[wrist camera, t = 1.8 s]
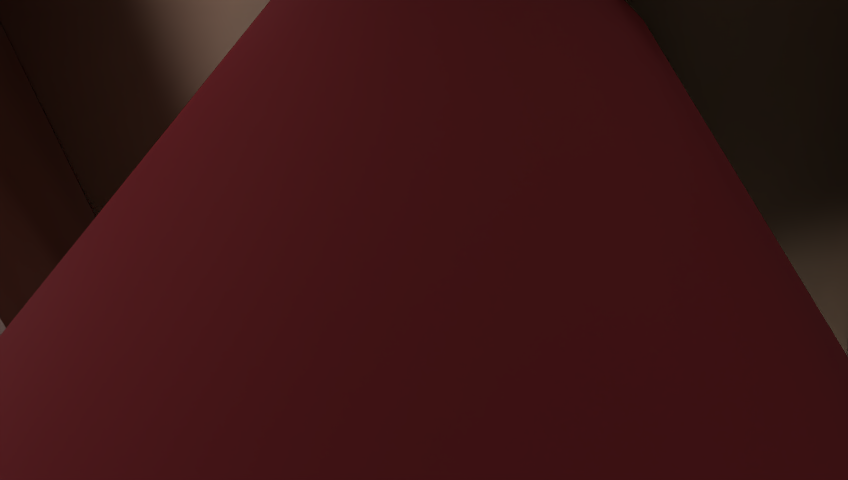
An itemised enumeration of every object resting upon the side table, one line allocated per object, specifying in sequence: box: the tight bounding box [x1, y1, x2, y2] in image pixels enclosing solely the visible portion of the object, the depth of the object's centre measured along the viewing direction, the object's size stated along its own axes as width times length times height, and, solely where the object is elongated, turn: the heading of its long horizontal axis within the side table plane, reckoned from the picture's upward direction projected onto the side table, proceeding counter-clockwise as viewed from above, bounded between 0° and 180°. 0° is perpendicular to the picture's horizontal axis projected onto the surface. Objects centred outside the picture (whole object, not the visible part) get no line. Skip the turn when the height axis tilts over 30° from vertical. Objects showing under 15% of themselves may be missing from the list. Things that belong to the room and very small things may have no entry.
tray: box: [0, 24, 848, 357], centre depth 11 cm, size 14×12×3 cm
